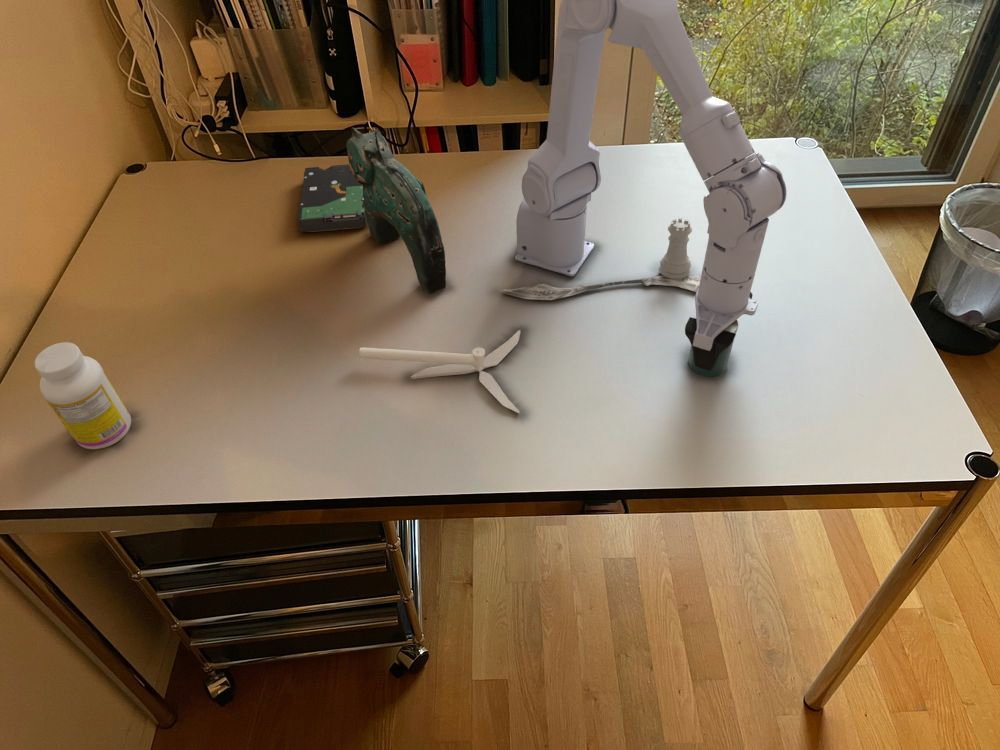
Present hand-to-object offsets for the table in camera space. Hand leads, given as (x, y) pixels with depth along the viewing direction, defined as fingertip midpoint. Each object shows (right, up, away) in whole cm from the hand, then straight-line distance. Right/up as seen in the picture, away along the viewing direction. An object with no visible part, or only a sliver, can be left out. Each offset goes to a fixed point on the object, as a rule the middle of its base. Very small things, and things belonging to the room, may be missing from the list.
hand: (709, 352), depth 97 cm
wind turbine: (-33, -2, +3) cm, 34 cm away
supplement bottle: (-74, -10, -3) cm, 75 cm away
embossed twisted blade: (-10, +9, +12) cm, 18 cm away
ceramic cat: (-40, +14, +18) cm, 46 cm away
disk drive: (-53, +25, +28) cm, 65 cm away
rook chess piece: (-1, +12, +13) cm, 18 cm away
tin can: (0, -1, +1) cm, 2 cm away
